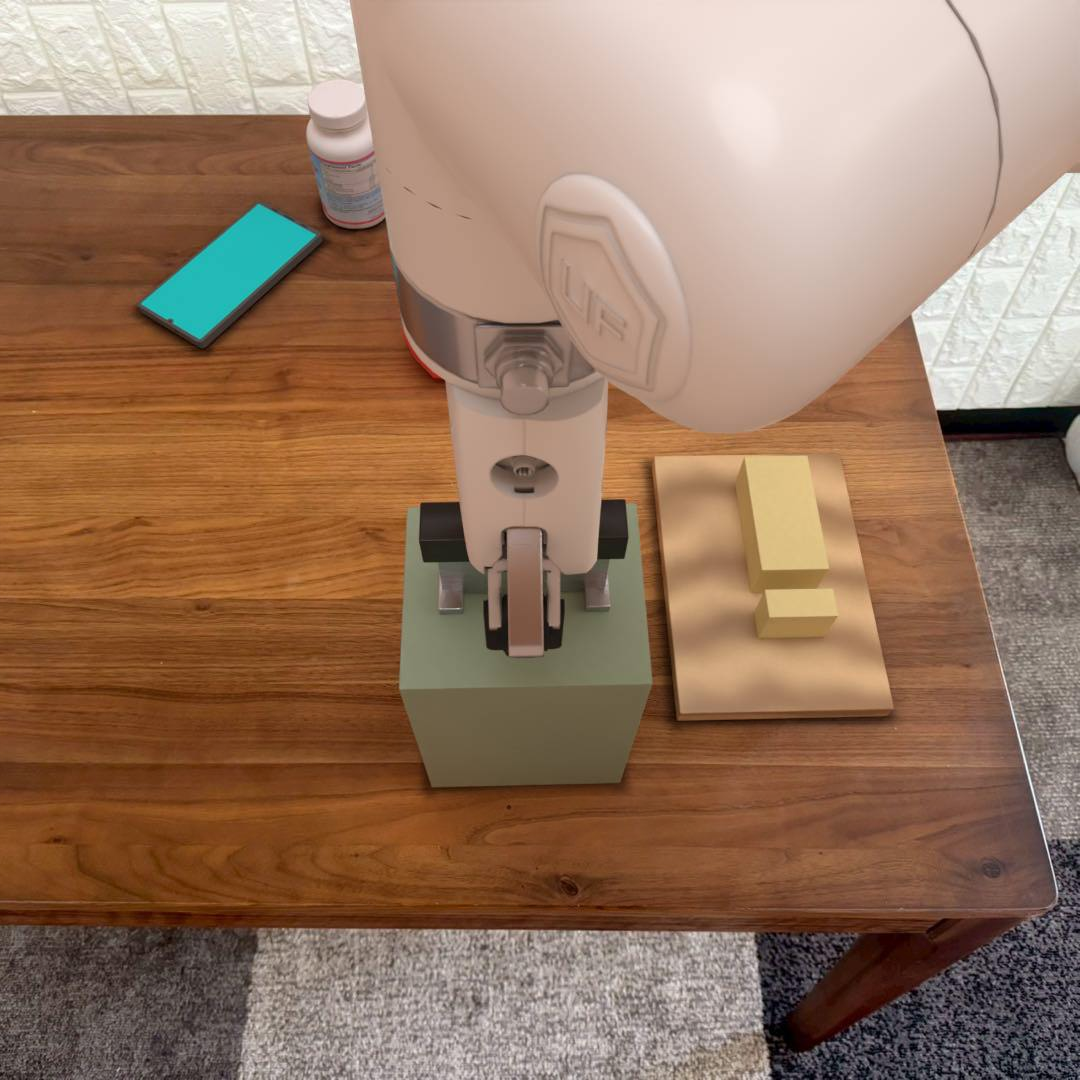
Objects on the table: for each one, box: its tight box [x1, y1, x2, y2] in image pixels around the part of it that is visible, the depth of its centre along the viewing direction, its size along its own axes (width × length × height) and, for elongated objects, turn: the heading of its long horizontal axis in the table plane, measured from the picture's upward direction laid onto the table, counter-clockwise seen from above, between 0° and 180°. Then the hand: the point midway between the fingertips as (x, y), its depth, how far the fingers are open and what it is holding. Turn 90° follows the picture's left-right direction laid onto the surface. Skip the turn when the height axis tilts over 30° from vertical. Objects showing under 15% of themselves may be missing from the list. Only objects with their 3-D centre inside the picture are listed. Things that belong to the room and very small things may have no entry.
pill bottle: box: [305, 78, 386, 230], centre depth 81 cm, size 6×6×11 cm
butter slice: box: [754, 588, 838, 638], centre depth 63 cm, size 2×4×4 cm, turn 91°
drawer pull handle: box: [419, 498, 629, 614], centre depth 45 cm, size 2×9×7 cm, turn 92°
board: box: [651, 452, 895, 722], centre depth 68 cm, size 20×14×2 cm
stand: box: [398, 503, 653, 788], centre depth 56 cm, size 10×12×18 cm
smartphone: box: [136, 200, 324, 349], centre depth 81 cm, size 7×1×15 cm
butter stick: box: [735, 456, 829, 593], centre depth 67 cm, size 9×4×4 cm, turn 2°
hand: (521, 544), depth 44 cm, fingers open, 9 cm apart
